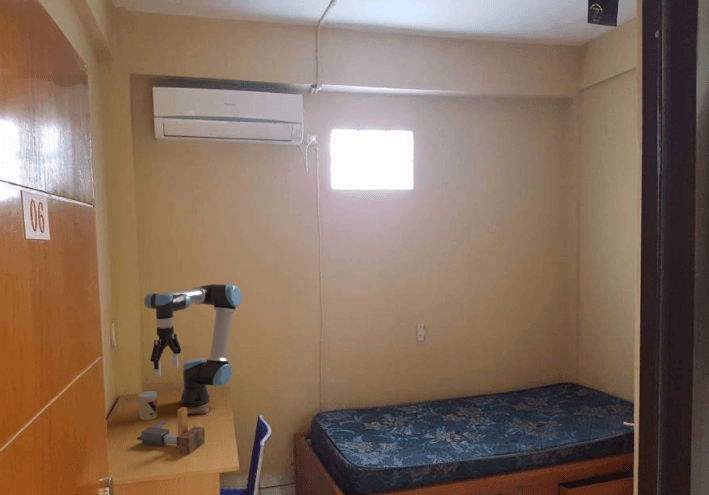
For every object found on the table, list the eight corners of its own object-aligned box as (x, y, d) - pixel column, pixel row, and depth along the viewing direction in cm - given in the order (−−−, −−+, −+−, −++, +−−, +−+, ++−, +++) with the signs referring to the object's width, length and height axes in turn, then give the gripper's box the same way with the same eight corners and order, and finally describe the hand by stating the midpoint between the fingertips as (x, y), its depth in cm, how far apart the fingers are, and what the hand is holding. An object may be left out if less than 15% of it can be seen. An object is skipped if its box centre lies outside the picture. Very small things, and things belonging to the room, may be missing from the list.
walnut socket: (194, 441, 239) (194, 426, 238) (204, 443, 237) (204, 427, 237) (178, 453, 227) (178, 437, 227) (188, 454, 226) (188, 438, 225)
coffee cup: (151, 421, 264) (150, 397, 263) (134, 420, 266) (133, 396, 265) (162, 414, 273) (161, 391, 272) (145, 413, 275) (144, 390, 274)
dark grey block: (150, 439, 242) (149, 427, 241) (169, 442, 239) (168, 429, 238) (142, 444, 236) (141, 431, 236) (161, 447, 233) (160, 434, 233)
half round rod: (136, 440, 243) (136, 436, 243) (158, 423, 262) (158, 420, 262) (145, 440, 242) (145, 436, 242) (166, 424, 261) (166, 420, 261)
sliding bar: (157, 439, 240) (156, 403, 239) (196, 443, 234) (195, 407, 233) (151, 443, 235) (150, 407, 235) (190, 448, 230) (189, 411, 229)
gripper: (174, 320, 262) (175, 363, 263) (140, 332, 238) (142, 378, 239) (187, 321, 260) (189, 364, 261) (155, 332, 236) (157, 380, 237)
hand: (166, 371), depth 250 cm, fingers open, 13 cm apart
